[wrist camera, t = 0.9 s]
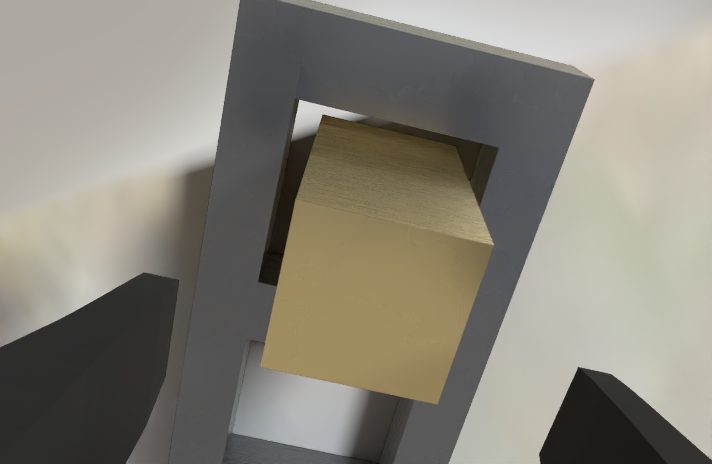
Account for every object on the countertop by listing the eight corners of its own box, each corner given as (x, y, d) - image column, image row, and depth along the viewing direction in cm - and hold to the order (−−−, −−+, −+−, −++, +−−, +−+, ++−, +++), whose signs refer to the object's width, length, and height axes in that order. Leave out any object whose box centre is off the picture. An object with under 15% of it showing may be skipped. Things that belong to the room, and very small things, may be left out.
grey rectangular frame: (572, 66, 18) (596, 80, 16) (362, 641, 28) (362, 695, 26) (255, -14, 18) (240, -9, 16) (154, 603, 28) (137, 655, 26)
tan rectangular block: (454, 146, 19) (493, 245, 13) (418, 263, 21) (437, 404, 15) (322, 114, 19) (295, 199, 13) (296, 236, 21) (260, 366, 14)
